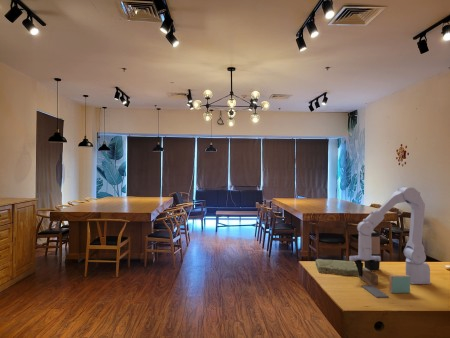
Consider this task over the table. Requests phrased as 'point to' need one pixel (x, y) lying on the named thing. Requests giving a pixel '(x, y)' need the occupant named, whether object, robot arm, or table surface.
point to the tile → (399, 283)
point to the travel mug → (375, 248)
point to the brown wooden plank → (369, 277)
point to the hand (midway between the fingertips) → (364, 275)
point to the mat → (375, 291)
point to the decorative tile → (337, 267)
